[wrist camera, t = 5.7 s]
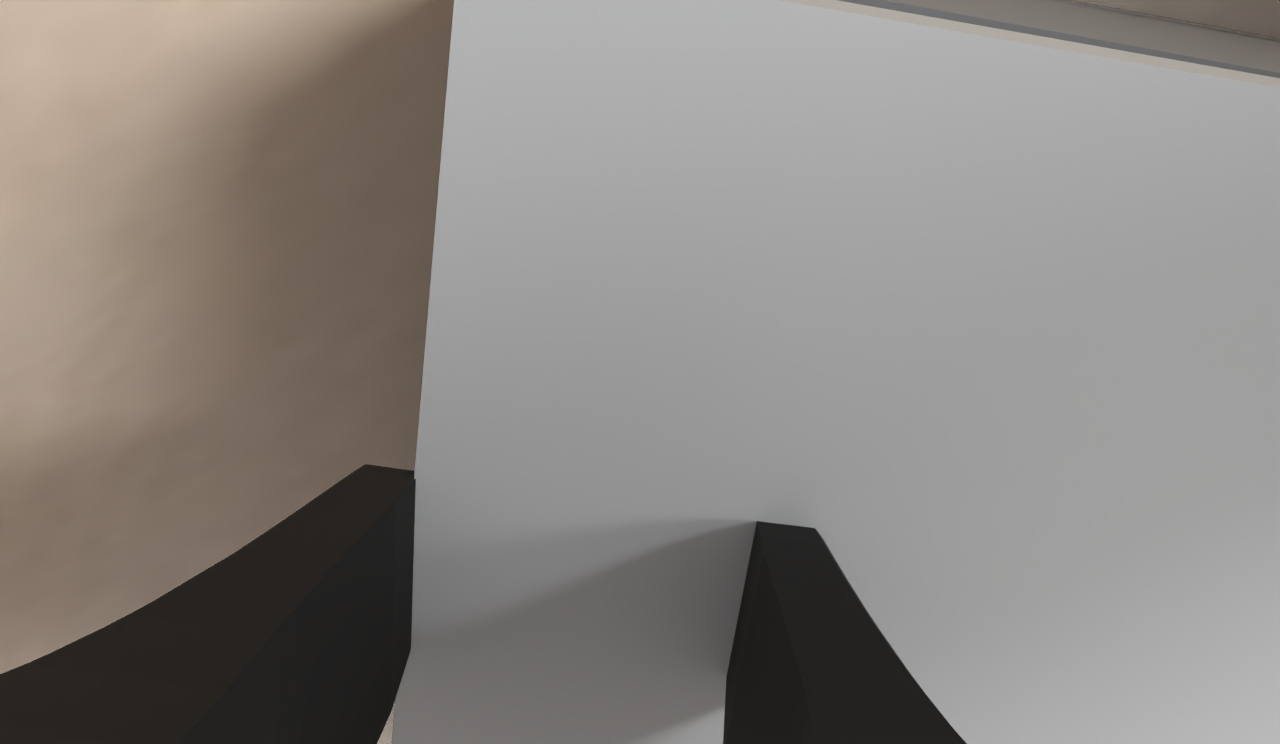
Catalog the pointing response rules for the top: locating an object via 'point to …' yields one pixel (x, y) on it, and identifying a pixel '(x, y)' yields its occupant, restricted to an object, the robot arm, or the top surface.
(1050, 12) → the box
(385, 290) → the top surface
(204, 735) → the robot arm
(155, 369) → the top surface
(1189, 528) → the lid
